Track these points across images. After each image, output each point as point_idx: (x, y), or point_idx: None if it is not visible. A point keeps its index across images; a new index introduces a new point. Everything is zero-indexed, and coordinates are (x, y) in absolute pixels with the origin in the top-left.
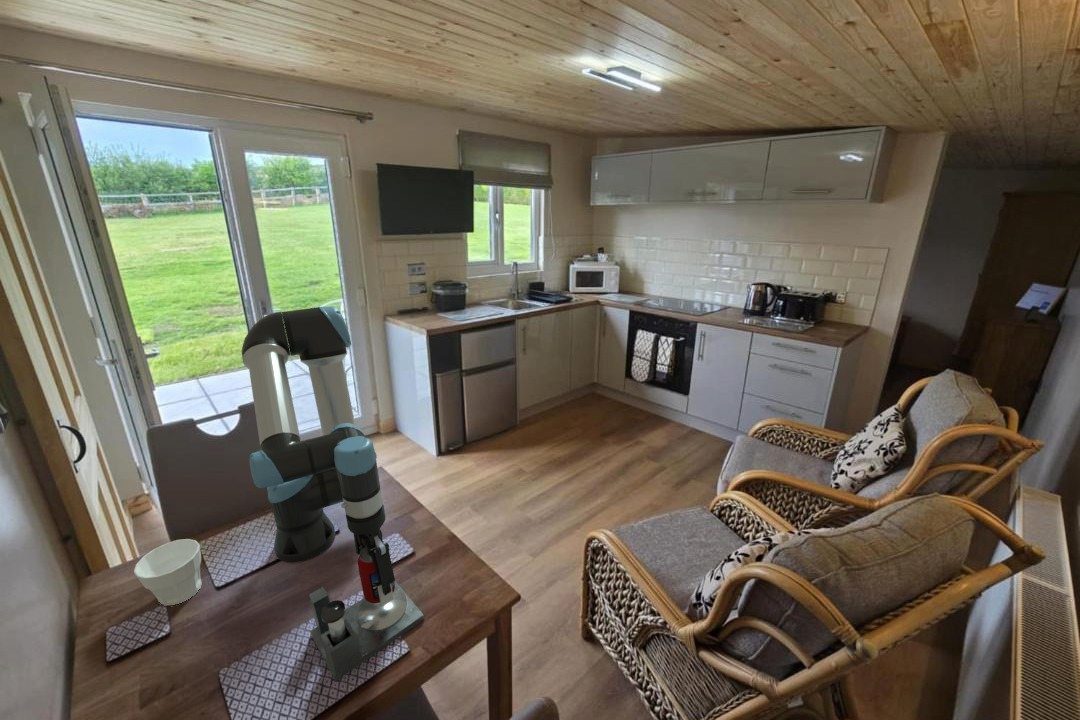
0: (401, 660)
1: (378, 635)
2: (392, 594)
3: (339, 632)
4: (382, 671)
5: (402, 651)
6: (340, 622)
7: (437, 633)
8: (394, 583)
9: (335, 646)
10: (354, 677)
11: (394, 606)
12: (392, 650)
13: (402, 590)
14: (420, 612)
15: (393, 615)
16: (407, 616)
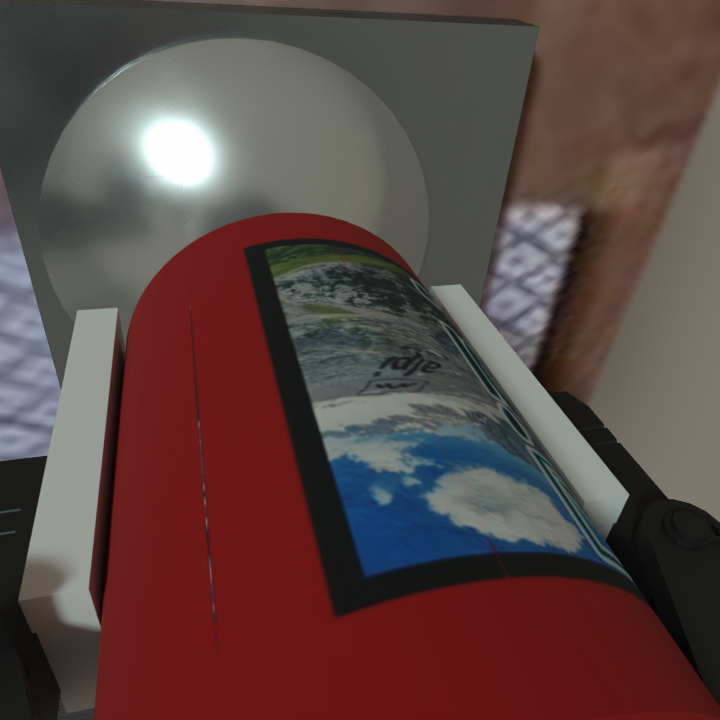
0: (585, 268)
1: None
2: (486, 321)
3: None
4: (546, 351)
5: (554, 244)
6: None
7: (664, 13)
8: (353, 234)
9: None
10: None
11: (305, 174)
12: (505, 280)
13: (172, 17)
14: (503, 33)
15: (371, 215)
16: (447, 133)
